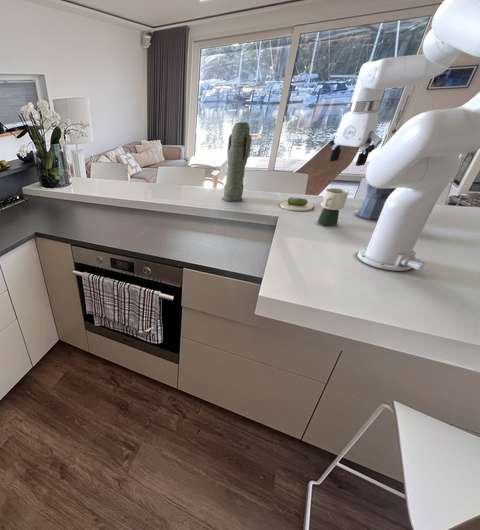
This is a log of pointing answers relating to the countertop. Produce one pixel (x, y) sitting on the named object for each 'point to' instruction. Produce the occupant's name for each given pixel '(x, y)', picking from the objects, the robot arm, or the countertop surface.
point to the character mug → (332, 205)
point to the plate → (296, 206)
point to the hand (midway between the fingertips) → (346, 163)
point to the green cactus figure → (237, 161)
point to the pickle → (297, 201)
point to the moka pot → (374, 202)
